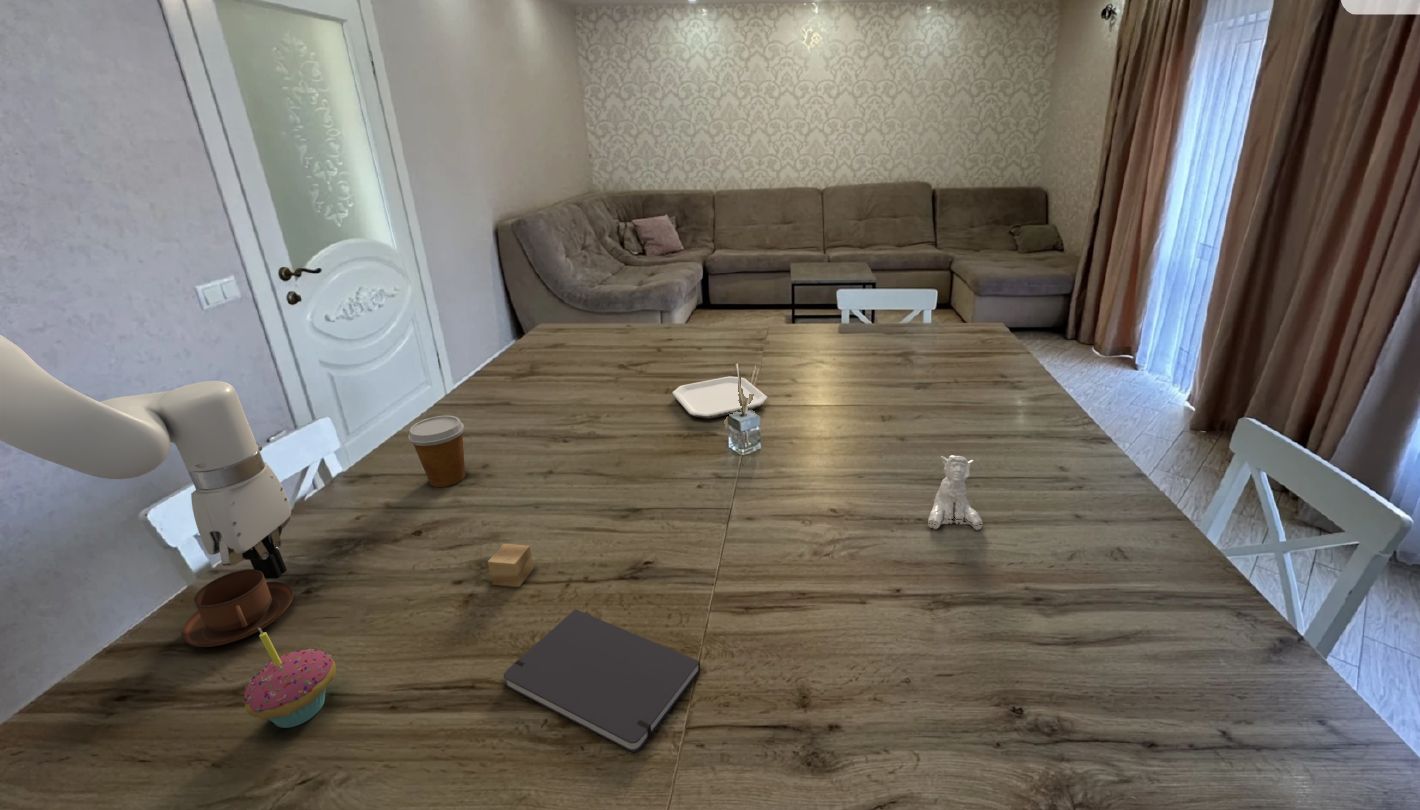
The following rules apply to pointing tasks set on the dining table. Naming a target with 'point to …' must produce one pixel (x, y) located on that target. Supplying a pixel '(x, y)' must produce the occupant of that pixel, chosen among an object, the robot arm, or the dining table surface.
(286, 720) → the cupcake
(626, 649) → the notebook
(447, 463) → the disposable coffee cup
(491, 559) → the beech block
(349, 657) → the dining table surface
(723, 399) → the plate
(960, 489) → the seated beast figurine
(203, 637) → the cup and saucer
